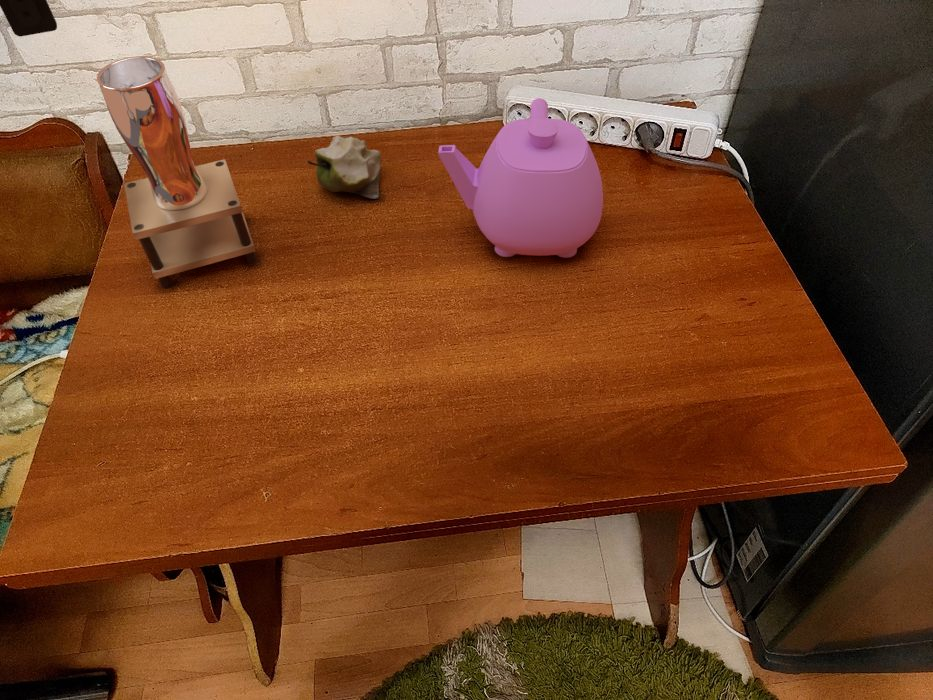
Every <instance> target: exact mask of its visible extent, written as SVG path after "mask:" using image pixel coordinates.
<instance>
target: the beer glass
mask: <svg viewBox="0 0 933 700" xmlns="http://www.w3.org/2000/svg"><path fill="white" fill-rule="evenodd" d="M167 71H168V70H167V69H166V66H165V63H164V62H162V61H161V60H160V59H158V58H157V57H152V56H144V55H143V56H142V55H141V56H140V55H139V56H130V57H125V58H121V59H118V60H115V61H113V62H110V63H109V64H107V65H106V66H104V67H103V68H101V69H100V71H98V73H97V75H96V82H97V84H98V86H99V88H100V91H101V94H102V98H103V100H104V103H105V105H106V106H105V107H106V108H107V111H108V113H109V115H110V118H111V120H112V122H113V124H114V126H115V128H116V130H117V133H118V134H119V135H120V137H121V138H122V140H123V142H124V143H125V145H126V146H127V147H128V149H129V150H130V152H131V153H132V155H133V156H134V158H135V159H136V160H137V162H138V164H139V166H140V167H141V168H142V170H143V171H144V173H145V175H146V178H148V180H149V183H150V187H151V192H152V196H153V200H154V202H155V203H156V205H157V206H159V207H160V208H163V209H166V210H182V209H186V208H189V207H192V206H194V205H196V204H197V203H199V202H200V201H201V200H202V199H203V198H204V197H205V195H206V193H207V185H206V183H205V181H204V180H203V178H202V177H201V175H200V173H199V172H198V170H197V168H196V166H197V165H196V164H195V162H194V157H193V154H192V149H191V143H190V137H189V131H188V126H187V125H188V124H187V120H186V117H185V112H184V110H183V106H182V104H181V100H180V99H179V96H178V94H177V91H176V88H175V86H174V84H173V82H172V79H171V77H170V76H169V73H168V72H167Z"/></svg>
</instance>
